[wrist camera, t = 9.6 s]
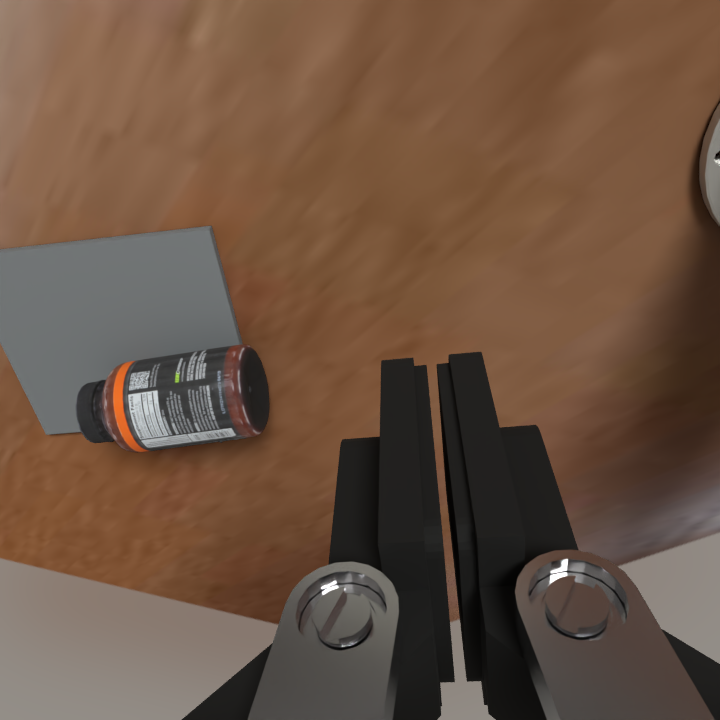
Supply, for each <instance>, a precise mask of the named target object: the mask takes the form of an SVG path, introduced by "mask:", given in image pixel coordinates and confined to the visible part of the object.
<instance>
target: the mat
mask: <svg viewBox="0 0 720 720" xmlns="http://www.w3.org/2000/svg"><path fill="white" fill-rule="evenodd" d="M0 343H1V345H2V347H3V349H4V351H5V353H6V355H7V357H8V359H9V361H10V363H11V365H12V367H13V369H14V371H15V373H16V375H17V377H18V379H19V381H20V383H21V385H22V387H23V389H24V391H25V393H26V395H27V397H28V399H29V401H30V403H31V405H32V407H33V409H34V411H35V413H36V415H37V417H38V419H39V421H40V423H41V425H42V427H43V429H44V431H45V433H46V435H48V434H60V433H73V432H81V431H80V429H79V426H78V423H77V420H76V414H75V404H76V398H77V394H78V392H79V390H80V389H81V387H82V386H84V385H85V384H87V383H91V382H97V381H100V380H106V379H107V377H108V375H109V374H110V373H111V371H112V370H113V369H114V368H115V367H116V366H118V365H120V364H122V363H126V362H131V361H137V360H143V359H150V358H156V357H162V356H168V355H175V354H182V353H188V352H194V351H201V350H207V349H213V348H220V347H227V346H235V345H241V344H242V340H241V336H240V332H239V328H238V325H237V321H236V317H235V313H234V309H233V306H232V302H231V298H230V294H229V290H228V287H227V283H226V279H225V275H224V271H223V268H222V264H221V260H220V256H219V252H218V249H217V245H216V241H215V237H214V233H213V230H212V226H205V227H196V228H187V229H179V230H170V231H161V232H152V233H143V234H134V235H125V236H116V237H107V238H98V239H89V240H80V241H71V242H63V243H54V244H45V245H36V246H27V247H18V248H9V249H0Z"/></svg>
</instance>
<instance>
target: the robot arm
mask: <svg viewBox="0 0 720 720" xmlns="http://www.w3.org/2000/svg"><path fill="white" fill-rule="evenodd" d="M719 151H720V103H719V105H718V107H717V109H716V110H715V112H714V114H713V116H712V119H711V121H710V124H709V126H708V129H707V131H706V134H705V136H704V140H703V145H702V150H701V155H700V160H699V182H700V187H701V192H702V196H703V201H704V203H705V205H706V207H707V209H708V211H709V213H710V215H711V217H712V218H713V219H714V221H715V222H716V223H717V224H718V225H719V226H720V153H719V155H718V156H717V157H715V155H716V153H718V152H719ZM437 376H438V389H439V403H440V416H441V429H442V442H443V456H444V469H445V482H446V494H447V504H448V513H449V522H450V531H451V540H452V550H453V559H454V568H455V577H456V586H457V596H458V605H459V614H460V623H461V632H462V641H463V650H464V659H465V669H466V678H467V681H481V682H482V690H483V698H484V705H488V712H489V714H490V715H491V716H492V717H493V718H495V719H496V720H720V664H719V663H717V662H715V661H714V660H712V659H710V658H709V657H707V656H705V655H704V654H702V653H700V652H699V651H697V650H695V649H694V648H692V647H690V646H689V645H687V644H686V643H684V642H682V641H680V640H679V639H677V638H676V637H674V636H672V635H671V634H669V633H667V632H666V631H664V630H662V629H661V628H660V626H659V624H658V623H657V621H656V619H655V617H654V616H653V614H652V612H651V611H650V609H649V607H648V606H647V604H646V602H645V600H644V599H643V597H642V595H641V594H640V592H639V590H638V588H637V587H636V585H635V584H634V583H633V582H632V581H631V579H630V578H629V577H628V576H627V574H626V573H625V572H624V571H623V570H621V569H620V568H618V567H617V566H616V565H614V564H613V563H612V562H610V561H609V560H606V559H604V558H602V557H600V556H597V555H595V554H593V553H589V552H583V551H579V550H578V547H577V544H576V541H575V538H574V535H573V532H572V529H571V526H570V523H569V520H568V516H567V513H566V510H565V507H564V504H563V501H562V498H561V495H560V492H559V489H558V486H557V482H556V479H555V476H554V473H553V470H552V467H551V464H550V461H549V458H548V455H547V452H546V448H545V445H544V442H543V439H542V436H541V433H540V431H539V428H538V427H537V426H536V425H529V426H516V427H502V428H500V427H499V423H498V419H497V415H496V411H495V407H494V402H493V398H492V394H491V390H490V386H489V381H488V377H487V373H486V369H485V365H484V360H483V356H482V353H481V352H473V353H461V354H450V355H449V363H444V364H437ZM440 682H455V680H454V667H453V655H452V643H451V631H450V619H449V607H448V595H447V583H446V571H445V559H444V548H443V536H442V525H441V514H440V504H439V493H438V483H437V472H436V461H435V451H434V440H433V429H432V419H431V408H430V397H429V387H428V376H427V366H426V365H421V366H414V360H413V358H404V359H393V360H382V361H381V404H380V437H369V438H356V439H343V440H342V442H341V447H340V456H339V465H338V475H337V485H336V495H335V505H334V515H333V525H332V535H331V545H330V555H329V565H327V566H324V567H321V568H318V569H317V570H315V571H314V572H312V573H310V574H309V575H307V576H305V577H304V578H303V579H302V580H301V581H300V582H299V584H298V585H297V586H296V587H295V588H294V589H293V590H292V592H291V594H290V596H289V598H288V600H287V602H286V604H285V607H284V610H283V613H282V616H281V619H280V622H279V625H278V628H277V631H276V635H275V638H274V641H273V643H272V644H271V645H270V646H269V647H267V648H266V649H265V650H264V651H263V652H261V653H260V654H259V655H258V656H257V657H256V658H255V659H253V660H252V661H251V662H250V663H248V664H247V665H246V666H245V667H244V668H243V669H241V670H240V671H239V672H238V673H237V674H235V675H234V676H233V677H232V678H231V679H229V680H228V681H227V682H226V683H225V684H223V685H222V686H221V687H220V688H219V689H218V690H216V691H215V692H214V693H213V694H212V695H210V697H208V698H207V699H206V700H205V701H203V702H202V703H201V704H200V705H199V706H197V707H196V708H195V709H194V710H193V711H191V712H190V713H189V714H188V715H187V716H186V717H184V718H183V719H182V720H437V719H438V718H439V717H440V716H441V706H442V703H441V690H440V689H441V688H440Z"/></svg>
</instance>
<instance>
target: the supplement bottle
mask: <svg viewBox="0 0 720 720" xmlns="http://www.w3.org/2000/svg"><path fill="white" fill-rule="evenodd" d="M75 414H76V420H77V423H78V426H79V429H80V431H81V432H82V434H83V435H84V437H85V438H86V439H87V440H89V441H90V442H93V443H101V442H113V441H115V442H116V443H117V444H118V445H119V446H120V447H122V448H123V449H125V450H127V451H131V452H145V451H155V450H162V449H169V448H175V447H183V446H191V445H198V444H205V443H213V442H220V443H222V441H228V440H236V439H245V438H247V437H254V436H257V435H259V434H260V433H262V431H263V430H264V428H265V426H266V424H267V421H268V416H269V391H268V384H267V379H266V375H265V372H264V368H263V366H262V363H261V360H260V358H259V357H258V355H257V353H256V351H255V350H254V349H253V348H251V347H250V346H249V345H245V344H241V345H235V346H227V347H220V348H213V349H207V350H201V351H194V352H188V353H182V354H175V355H168V356H162V357H156V358H150V359H143V360H137V361H131V362H126V363H122V364H120V365H118V366H116V367H115V368H114V369H113V370H112V371H111V373H110V374H109V375H108V377H107V379H106V380H100V381H97V382H91V383H87V384H85V385H84V386H82V387H81V389H80V390H79V392H78V394H77V398H76V404H75Z"/></svg>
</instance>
